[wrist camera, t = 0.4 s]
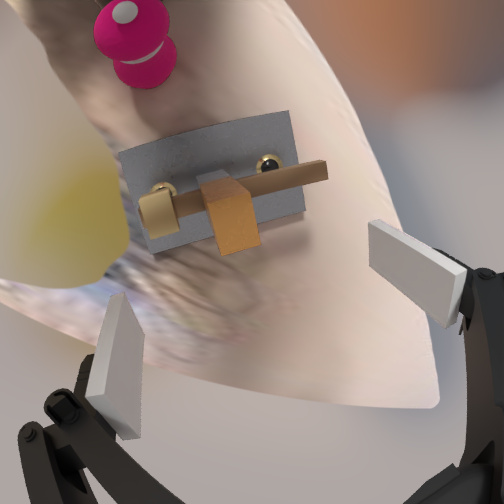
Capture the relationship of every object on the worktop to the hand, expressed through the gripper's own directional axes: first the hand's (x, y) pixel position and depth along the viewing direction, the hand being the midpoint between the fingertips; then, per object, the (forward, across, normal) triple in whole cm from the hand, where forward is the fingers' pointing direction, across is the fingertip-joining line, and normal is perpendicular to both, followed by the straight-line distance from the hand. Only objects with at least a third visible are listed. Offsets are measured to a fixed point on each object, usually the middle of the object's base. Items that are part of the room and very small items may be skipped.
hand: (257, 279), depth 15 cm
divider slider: (+24, 0, 0) cm, 24 cm away
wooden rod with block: (+25, +2, 0) cm, 25 cm away
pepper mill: (+27, -4, +17) cm, 32 cm away
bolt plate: (+26, +1, 0) cm, 27 cm away
